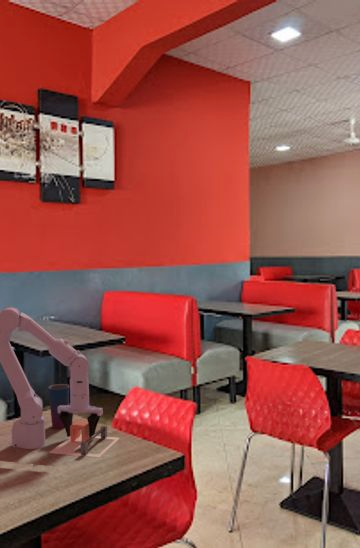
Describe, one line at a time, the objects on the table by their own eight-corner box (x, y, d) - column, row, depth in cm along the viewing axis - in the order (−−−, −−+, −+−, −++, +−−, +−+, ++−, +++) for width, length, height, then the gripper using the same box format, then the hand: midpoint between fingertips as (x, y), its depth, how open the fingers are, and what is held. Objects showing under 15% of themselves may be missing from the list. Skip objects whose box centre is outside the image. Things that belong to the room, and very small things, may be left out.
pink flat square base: (48, 457, 155) (48, 440, 155) (73, 438, 171) (73, 423, 171) (99, 462, 151) (98, 445, 151) (120, 442, 167) (119, 426, 166)
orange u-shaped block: (70, 441, 164) (70, 425, 164) (77, 436, 169) (77, 420, 168) (84, 442, 163) (83, 426, 162) (91, 437, 167) (90, 421, 167)
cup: (54, 427, 183) (52, 383, 182) (73, 427, 182) (72, 384, 181) (46, 433, 176) (45, 389, 175) (66, 434, 175) (65, 389, 174)
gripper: (52, 395, 163) (53, 439, 164) (95, 398, 159) (96, 442, 160) (63, 389, 170) (64, 431, 170) (105, 392, 166) (106, 434, 167)
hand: (80, 436), depth 166 cm, fingers open, 7 cm apart
